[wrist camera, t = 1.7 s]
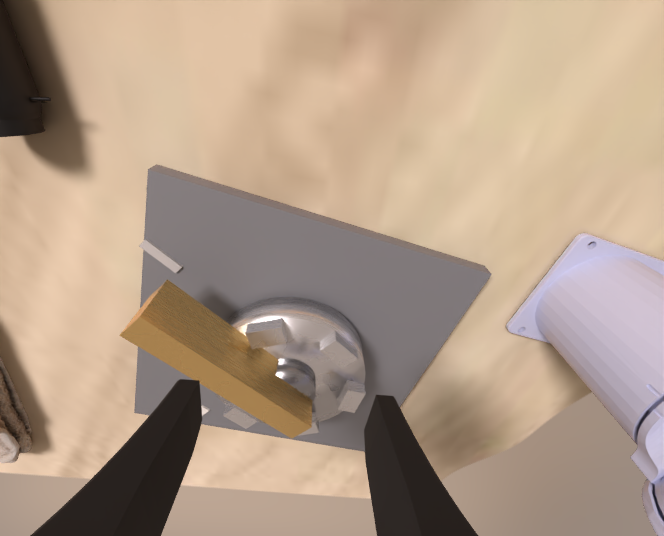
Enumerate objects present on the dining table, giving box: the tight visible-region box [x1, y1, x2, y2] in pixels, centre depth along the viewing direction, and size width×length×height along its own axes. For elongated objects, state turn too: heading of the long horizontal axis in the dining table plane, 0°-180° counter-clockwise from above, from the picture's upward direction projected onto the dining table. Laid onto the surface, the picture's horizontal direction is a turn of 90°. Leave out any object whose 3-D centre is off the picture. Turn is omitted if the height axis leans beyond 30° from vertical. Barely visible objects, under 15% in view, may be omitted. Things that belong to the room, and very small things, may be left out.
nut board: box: [134, 165, 491, 452], centre depth 23 cm, size 20×20×1 cm
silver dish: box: [120, 279, 366, 439], centre depth 20 cm, size 14×10×5 cm
